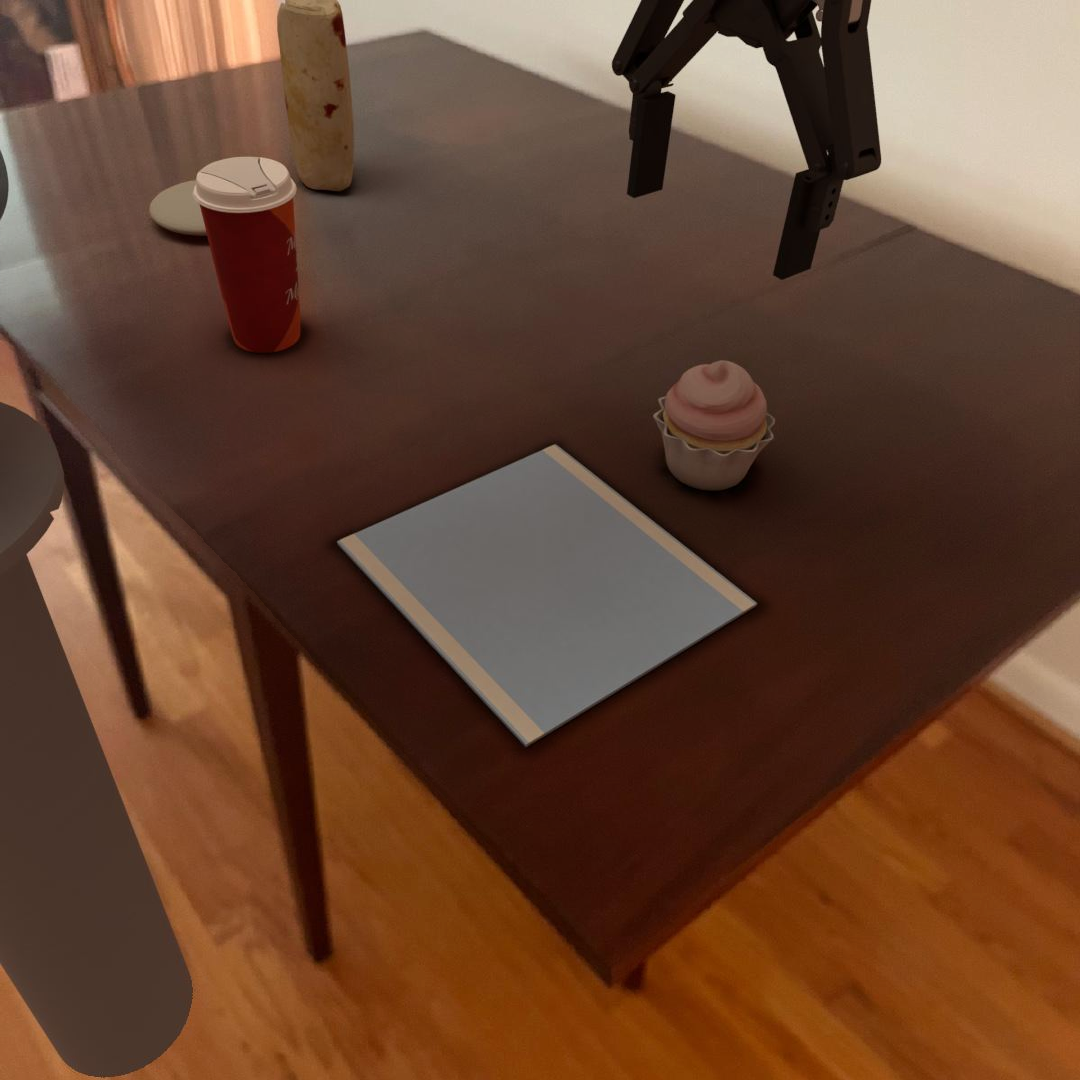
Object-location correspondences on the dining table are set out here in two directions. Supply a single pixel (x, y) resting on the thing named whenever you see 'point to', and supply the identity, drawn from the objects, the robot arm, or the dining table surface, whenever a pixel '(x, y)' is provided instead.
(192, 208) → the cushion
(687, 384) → the cupcake
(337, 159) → the food model
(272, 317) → the coffee cup
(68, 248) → the dining table surface
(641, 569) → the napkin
